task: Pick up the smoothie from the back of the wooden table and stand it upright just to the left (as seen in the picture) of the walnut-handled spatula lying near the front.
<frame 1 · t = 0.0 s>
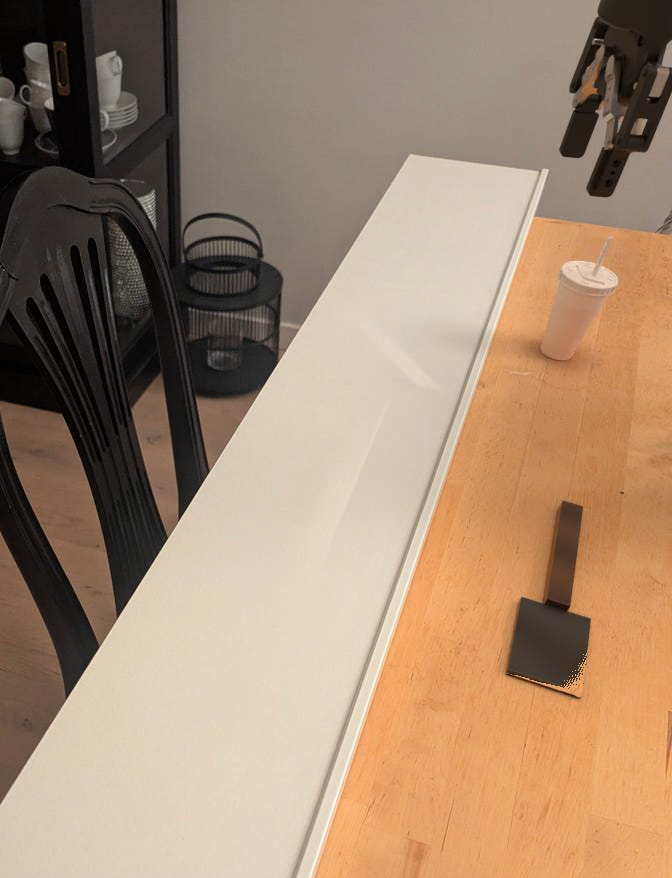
hand: (583, 174, 81), 24 cm above the table, tool pointing down, fingers open, 8 cm apart
smoothie: (555, 353, 108), on the table
spatula: (556, 593, 80), on the table
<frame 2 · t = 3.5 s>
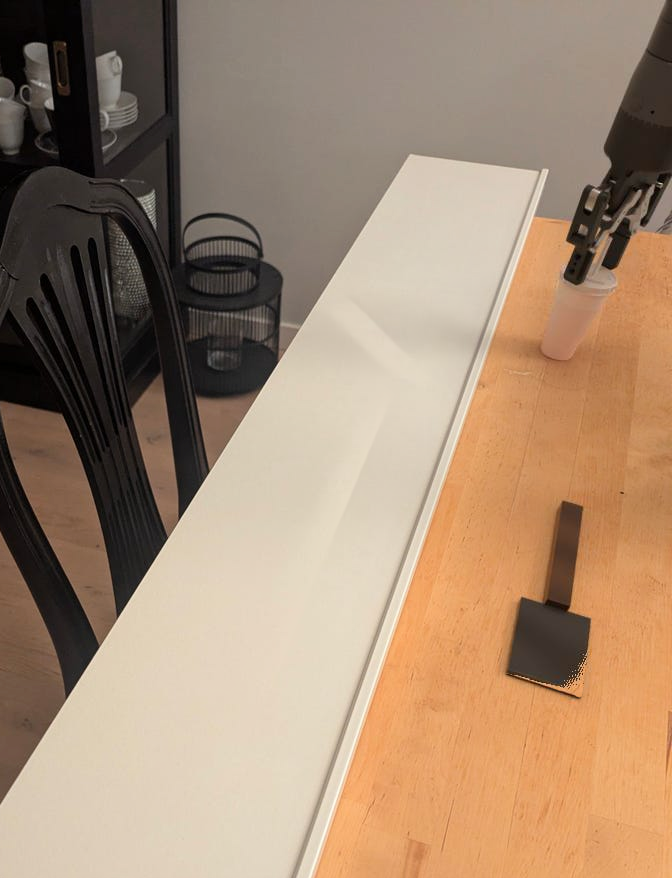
hand: (589, 273, 101), 10 cm above the table, tool pointing down, fingers closed on smoothie, 6 cm apart
smoothie: (555, 353, 108), on the table, touching gripper
everything else where it was.
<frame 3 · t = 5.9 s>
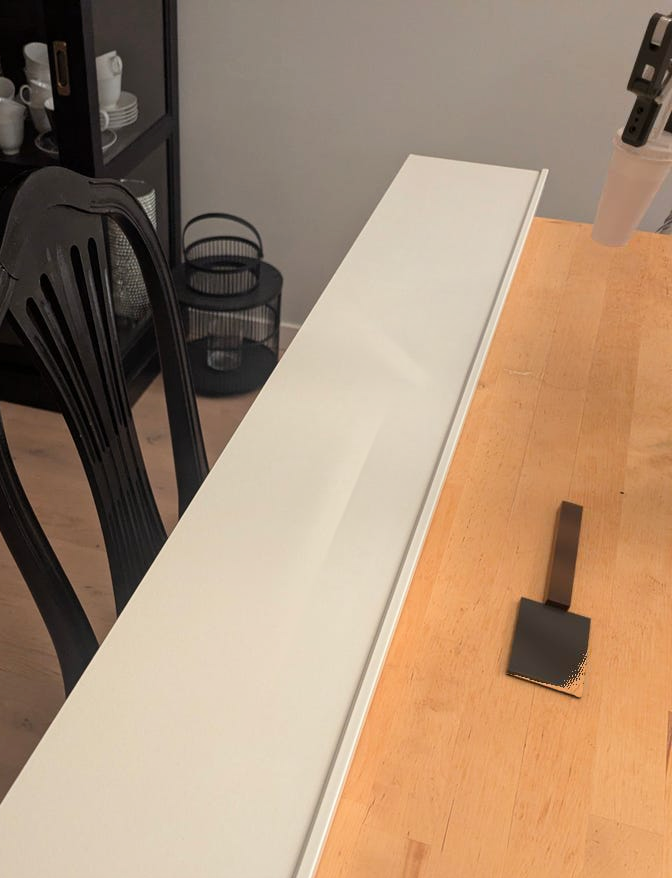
hand: (651, 137, 86), 25 cm above the table, tool pointing down, fingers closed on smoothie, 6 cm apart
smoothie: (607, 240, 93), point 15 cm above the table, touching gripper
everything else where it was.
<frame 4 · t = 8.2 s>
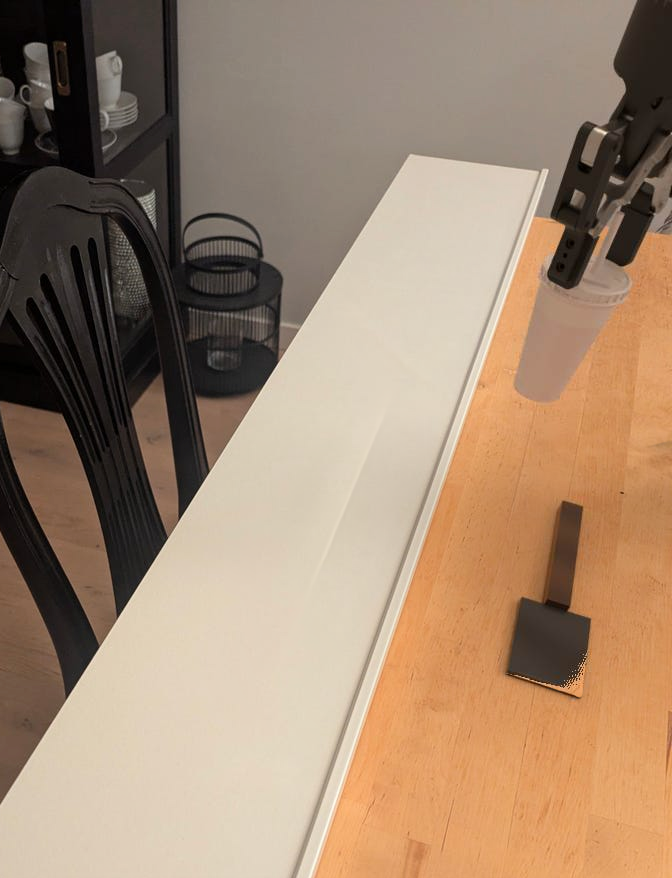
hand: (589, 271, 65), 26 cm above the table, tool pointing down, fingers closed on smoothie, 6 cm apart
smoothie: (535, 391, 72), point 16 cm above the table, touching gripper
everything else where it was.
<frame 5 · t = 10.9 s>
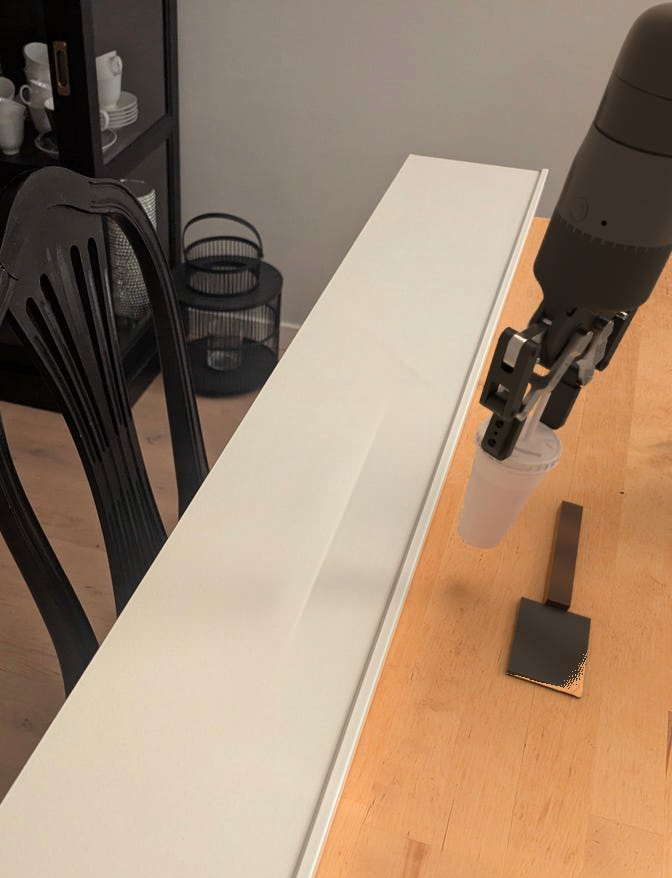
hand: (521, 437, 68), 16 cm above the table, tool pointing down, fingers closed on smoothie, 6 cm apart
smoothie: (478, 535, 76), point 6 cm above the table, touching gripper
everything else where it was.
when the fingers open (10 cm above the table, at t = 13.0 s): smoothie stays where it is, on the table.
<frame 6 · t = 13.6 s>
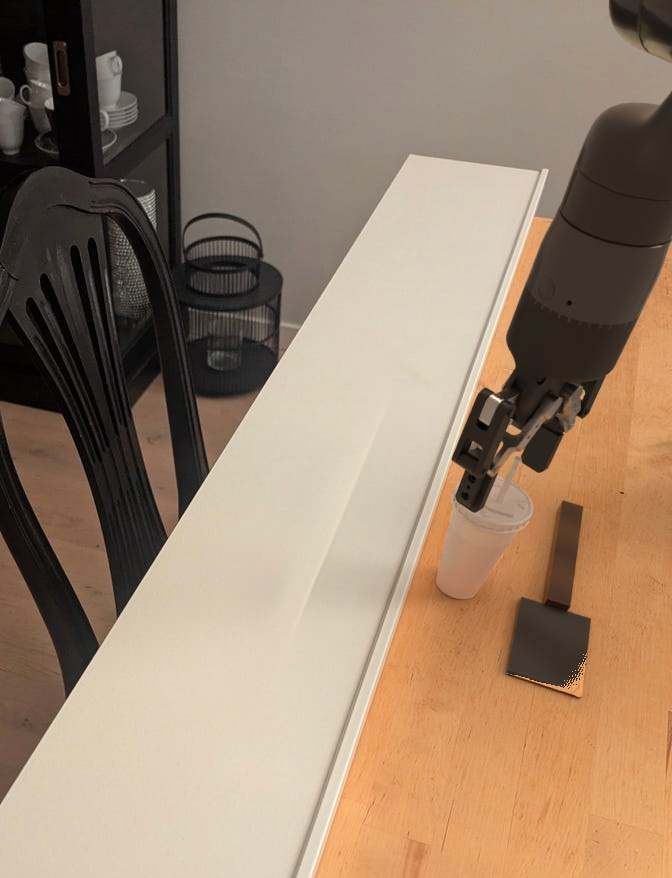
hand: (501, 485, 71), 11 cm above the table, tool pointing down, fingers open, 8 cm apart
smoothie: (456, 585, 80), on the table
everything else where it was.
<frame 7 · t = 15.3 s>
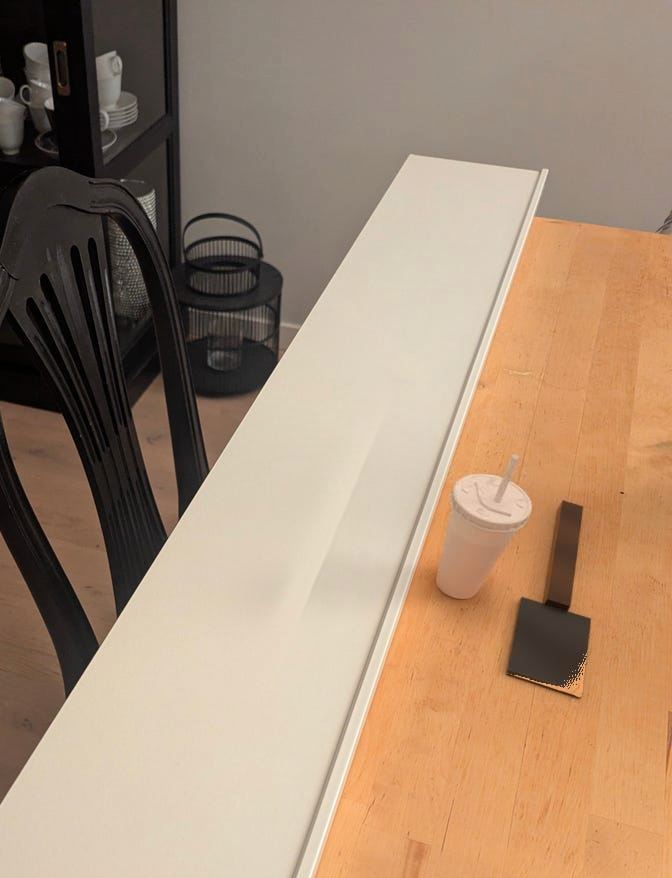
nothing on the table moved.
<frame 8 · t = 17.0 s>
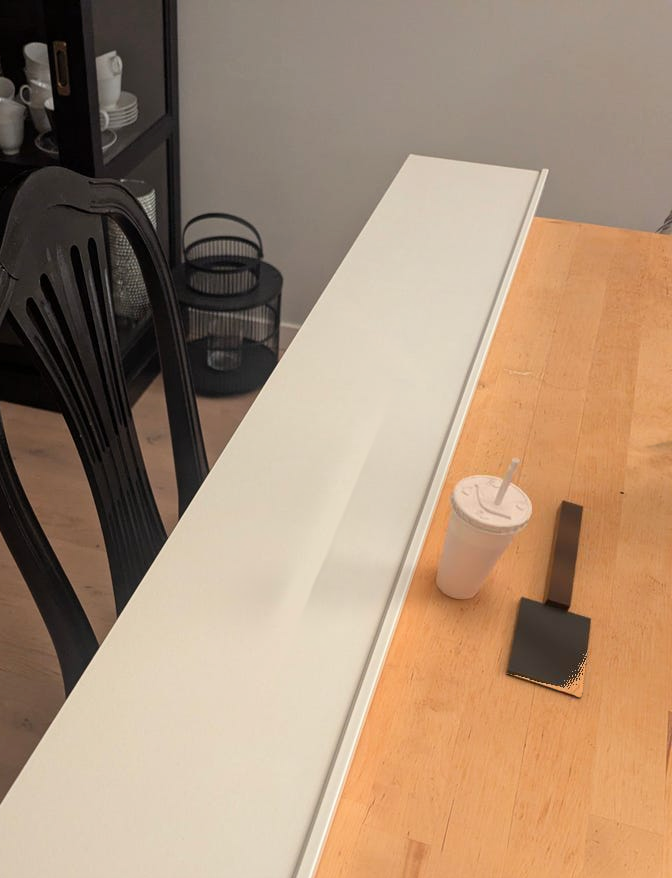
nothing on the table moved.
at the end: smoothie 0.2 cm from the target spot on the table beside the spatula, on the table; smoothie tilted 1°; the gripper is holding nothing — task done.
